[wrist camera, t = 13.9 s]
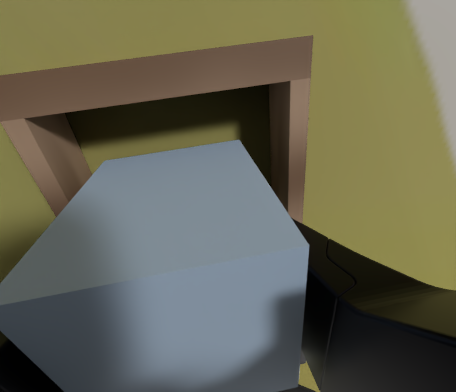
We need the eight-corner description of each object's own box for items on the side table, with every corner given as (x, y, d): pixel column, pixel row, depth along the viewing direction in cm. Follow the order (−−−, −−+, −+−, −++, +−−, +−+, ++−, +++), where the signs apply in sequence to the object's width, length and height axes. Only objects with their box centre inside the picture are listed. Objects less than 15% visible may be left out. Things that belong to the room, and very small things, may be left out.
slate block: (239, 139, 9) (309, 245, 4) (248, 240, 11) (297, 386, 6) (104, 160, 9) (-23, 309, 3) (144, 259, 11) (106, 432, 6)
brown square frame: (283, 312, 19) (295, 345, 16) (155, 339, 18) (150, 377, 16) (285, 41, 10) (313, 35, 7) (26, 74, 9) (-26, 78, 7)
